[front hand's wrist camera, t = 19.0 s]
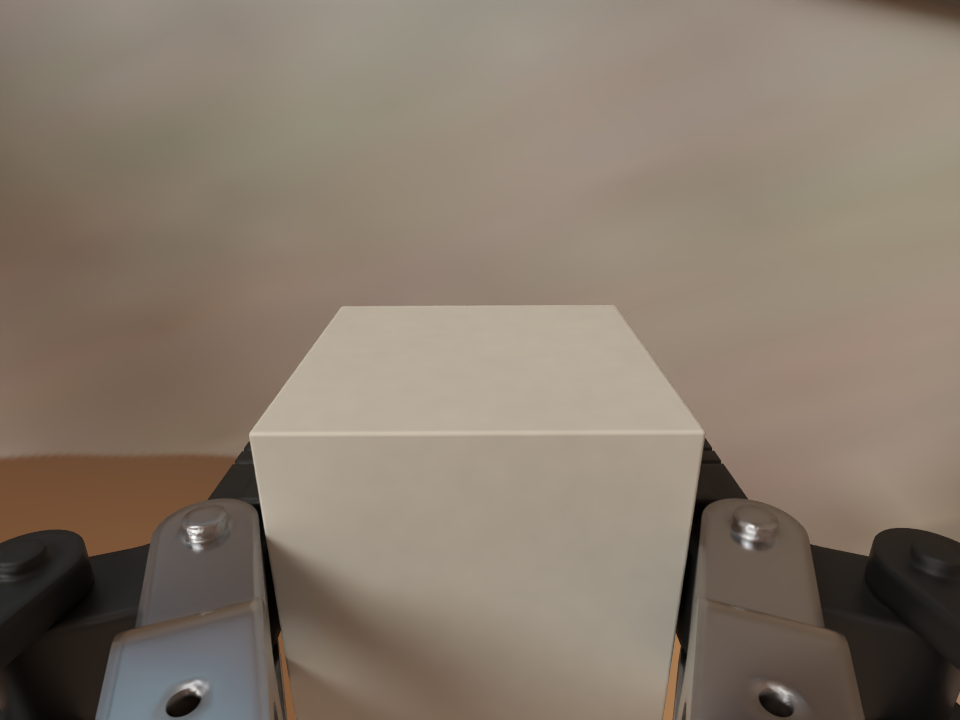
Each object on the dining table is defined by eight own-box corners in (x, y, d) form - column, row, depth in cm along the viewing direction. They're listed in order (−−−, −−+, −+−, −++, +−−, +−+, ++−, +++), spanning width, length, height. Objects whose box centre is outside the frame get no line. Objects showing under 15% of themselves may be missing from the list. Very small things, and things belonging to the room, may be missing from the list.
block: (341, 305, 11) (246, 433, 7) (615, 304, 11) (707, 431, 7) (361, 532, 13) (299, 751, 9) (597, 531, 13) (660, 750, 9)
